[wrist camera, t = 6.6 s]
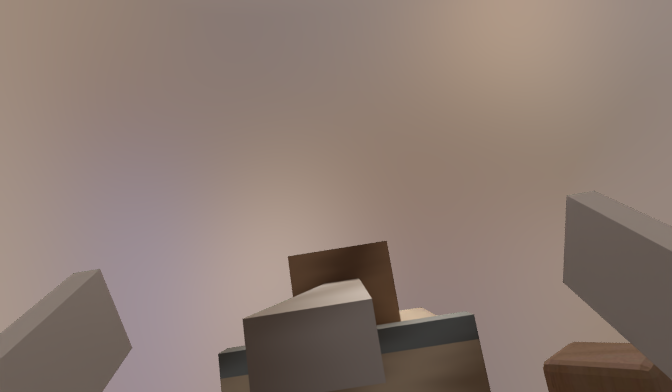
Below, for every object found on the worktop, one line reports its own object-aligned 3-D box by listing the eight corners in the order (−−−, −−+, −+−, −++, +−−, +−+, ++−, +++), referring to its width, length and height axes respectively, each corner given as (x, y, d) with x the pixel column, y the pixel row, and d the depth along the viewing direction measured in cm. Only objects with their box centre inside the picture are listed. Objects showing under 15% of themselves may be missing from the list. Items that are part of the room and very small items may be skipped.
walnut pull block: (123, 573, 5) (110, 217, 6) (312, 326, 29) (303, 259, 30) (557, 510, 5) (474, 159, 6) (390, 313, 29) (379, 247, 30)
